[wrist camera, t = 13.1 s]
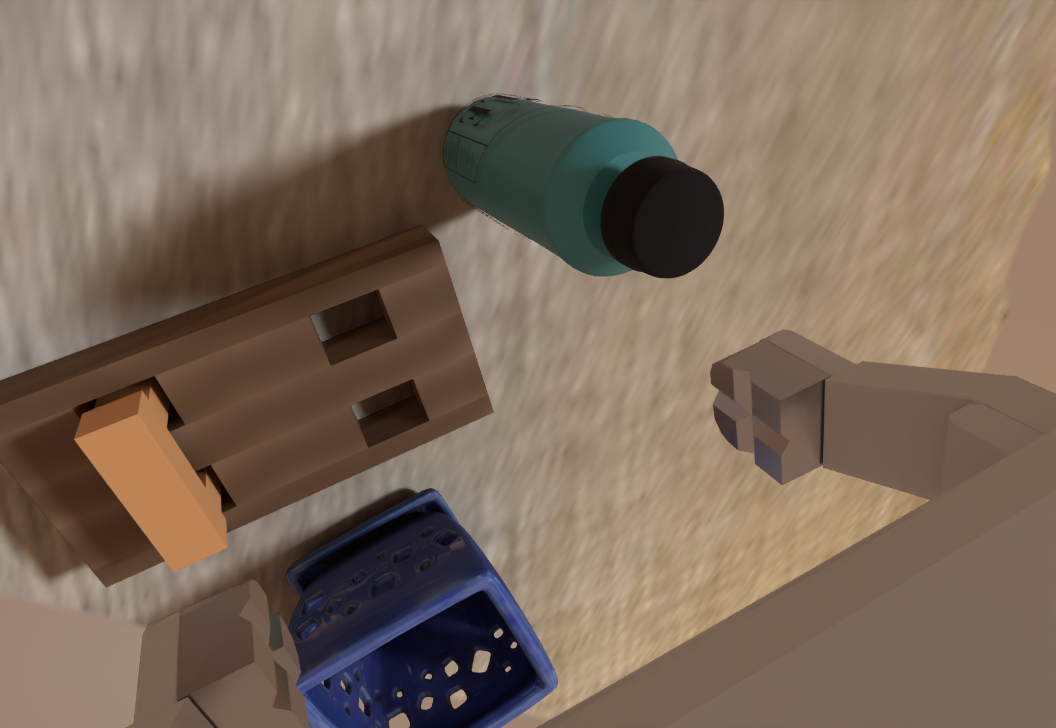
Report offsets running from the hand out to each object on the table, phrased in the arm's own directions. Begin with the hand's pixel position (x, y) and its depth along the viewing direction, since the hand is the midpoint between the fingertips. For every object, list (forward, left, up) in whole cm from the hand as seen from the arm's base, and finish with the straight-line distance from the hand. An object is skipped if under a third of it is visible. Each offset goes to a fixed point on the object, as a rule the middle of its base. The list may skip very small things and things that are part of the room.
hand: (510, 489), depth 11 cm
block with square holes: (+11, -7, -30) cm, 33 cm away
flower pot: (+28, -5, -31) cm, 42 cm away
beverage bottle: (+2, +10, -30) cm, 32 cm away
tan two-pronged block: (+11, -13, -30) cm, 34 cm away
